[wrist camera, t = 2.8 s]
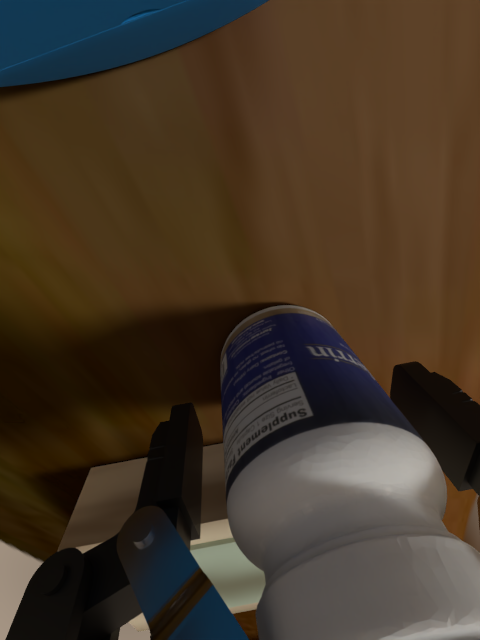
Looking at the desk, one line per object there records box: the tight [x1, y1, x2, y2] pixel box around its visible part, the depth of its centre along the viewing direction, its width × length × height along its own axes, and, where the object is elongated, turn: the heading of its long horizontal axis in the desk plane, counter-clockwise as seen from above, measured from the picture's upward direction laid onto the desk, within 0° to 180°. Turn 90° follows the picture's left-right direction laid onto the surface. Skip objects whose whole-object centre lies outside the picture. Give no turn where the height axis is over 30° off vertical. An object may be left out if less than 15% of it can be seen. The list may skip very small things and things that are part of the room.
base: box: [58, 443, 266, 631], centre depth 17 cm, size 11×11×4 cm
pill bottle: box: [220, 305, 480, 640], centre depth 9 cm, size 6×6×10 cm
